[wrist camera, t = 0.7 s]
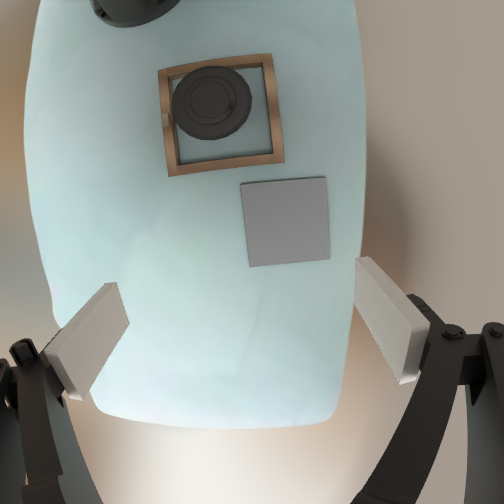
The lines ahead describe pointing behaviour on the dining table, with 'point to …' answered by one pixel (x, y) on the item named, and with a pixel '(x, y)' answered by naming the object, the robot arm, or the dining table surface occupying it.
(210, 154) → the dining table surface
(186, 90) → the coffee cup
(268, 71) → the wooden square frame
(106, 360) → the robot arm
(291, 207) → the pad
